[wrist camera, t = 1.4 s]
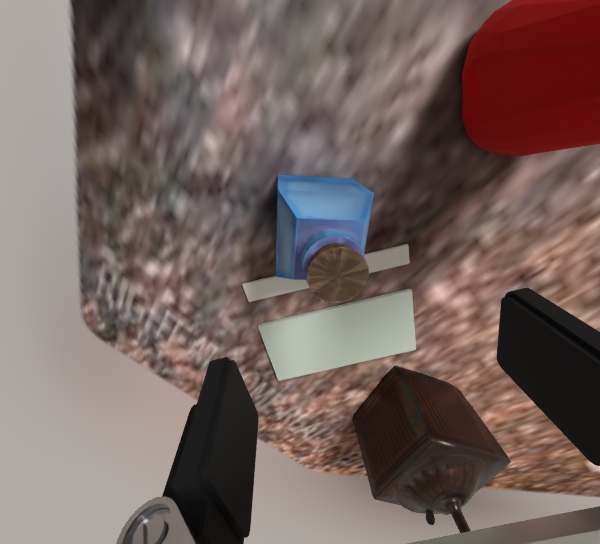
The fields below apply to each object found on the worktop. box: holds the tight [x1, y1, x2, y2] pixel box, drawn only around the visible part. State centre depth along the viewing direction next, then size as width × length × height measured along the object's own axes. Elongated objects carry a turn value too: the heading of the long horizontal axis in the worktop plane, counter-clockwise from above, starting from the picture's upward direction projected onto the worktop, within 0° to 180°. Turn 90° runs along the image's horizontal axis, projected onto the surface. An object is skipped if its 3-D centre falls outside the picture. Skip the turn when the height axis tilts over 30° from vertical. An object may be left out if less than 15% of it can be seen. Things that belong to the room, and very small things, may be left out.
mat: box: [258, 288, 416, 381], centre depth 31 cm, size 8×16×1 cm, turn 103°
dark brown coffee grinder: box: [353, 366, 511, 533], centre depth 30 cm, size 16×11×18 cm
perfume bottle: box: [276, 175, 374, 303], centre depth 20 cm, size 6×6×12 cm
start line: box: [243, 244, 410, 302], centre depth 28 cm, size 2×16×1 cm, turn 103°
